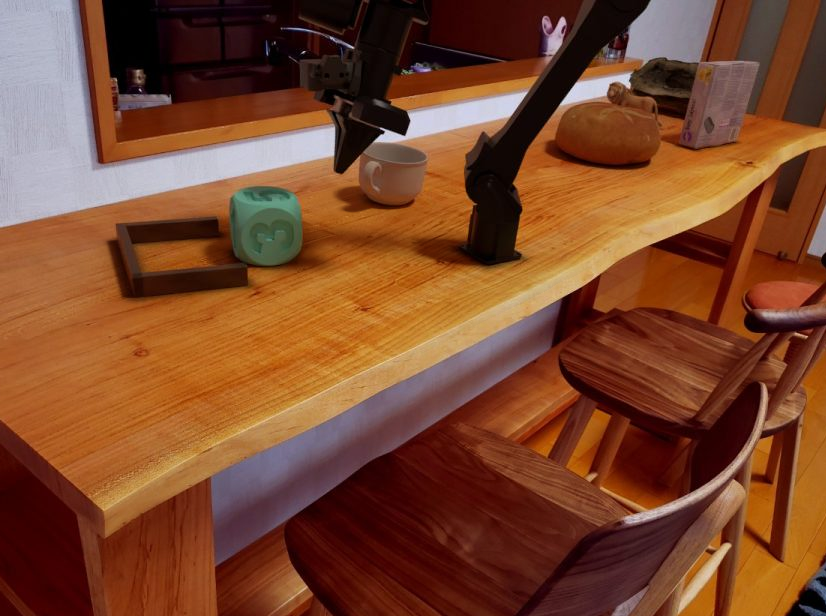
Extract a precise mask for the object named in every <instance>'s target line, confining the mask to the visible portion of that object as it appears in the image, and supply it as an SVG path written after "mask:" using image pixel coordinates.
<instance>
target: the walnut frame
mask: <svg viewBox="0 0 826 616" xmlns="http://www.w3.org/2000/svg"><path fill="white" fill-rule="evenodd" d="M114 225H115V233H116V241H117V244H118V248H119V252H120V254H121V258H122V261H123V265H124V268H125V271H126V275H127V278H128V281H129V285H130V288H131V291H132V295H133V297H134V298H143V297H153V296H159V295H160V296H162V295H169V294H171V295H172V294H178V293H179V294H180V293H186V292H187V293H189V292H198V291H208V290H218V289H226V288H227V289H228V288H235V287H244V286H249V277H248V275H249V269H248V268H249V267H248V265H247V263H245V262H240V263H228V264H217V265H208V266H207V265H206V266H196V267H186V268H177V269H175V268H174V269H166V270H157V271H155V270H154V271H144V272H142V269H141V267H140V263H139V261H138V257H137V255H136V252H135V249H134V246H133V244H141V243H152V242H154V243H155V242H165V241H176V240H177V241H178V240H190V239H203V238H214V237H219V236H220V225H219V218H218V217H217V216H216V215H214V216H201V217H199V216H198V217H188V218H174V219H173V218H172V219H171V218H170V219H162V220H161V219H157V220H146V221H132V222H131V221H129V222H118V223H115V224H114Z"/></svg>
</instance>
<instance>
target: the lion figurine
mask: <svg viewBox="0 0 826 616" xmlns="http://www.w3.org/2000/svg"><path fill="white" fill-rule="evenodd" d="M608 85H609V86H608V89H607V92H606V98H607V100H608V102H609V103H612V104H616V105H619V106H623V107H630V108H637V109H642V110H644V111H646V112H648V113H649V114H651V115H652V116H653V111H654V118H655V119H656V121H657V122H658V125H659V127H661V128H662V127H663V125H662V123H661V122H659V118H658V117H659V115H658V114H659V112H658V111H659V110H658V104H656V102H655V100H654V99H653V98H651V97H638V96H635V95H634V94H633V92H632V89H630V88H629V87H627V86H626V84H624V83H622V82H620V81H614V82H613V81H612V83H609V84H608Z"/></svg>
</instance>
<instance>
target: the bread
mask: <svg viewBox="0 0 826 616" xmlns="http://www.w3.org/2000/svg"><path fill="white" fill-rule="evenodd" d="M658 122H659V121H658ZM658 122H657V121H656V119H655V116H653V114H652V115H651V114H649V113H648V112H646V111H644V110H642V109H637V108H630V107H623V106H619V105H616V104H612V103H611V102H605V101H589V102H583V103H579V104H576V105H573V106H571V107H569V108H568V109H566V110H565V111H564V112H563V114H562V115H561V117H560V119H559V123H558V125H557V128H556V131H555V133H554V134H555V135H554V141H555V143H556V145H557V147H558V148H559V149H560V150H561V151H563V152H564V153H566V154H567V155H570V156H572V157H574V158H576V159H580V160H582V161H585V162H590V163H594V164H601V165H609V166H624V165H629V164H637V163H645V162H647V161H649V160H650V159H652V158H653V157H654V156H655V155H656V154H657V153H658V152H659V149H660V147H661V143H662V137H661V132H660V131H661V130H660V126H659V125H658Z"/></svg>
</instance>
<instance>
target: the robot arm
mask: <svg viewBox="0 0 826 616" xmlns="http://www.w3.org/2000/svg"><path fill="white" fill-rule="evenodd" d="M651 1H652V0H583V1H582V3H581V5H580V8H579V11H578V13H577V16H576V19H575V22H574V24H573V26H572V28H571V30H570V32H569V34H568V35H567V36H566V37H565V39H564V40H563V41H562V43H561V45H560V46H559V47H558V49H557V51H555V53H554V54H553V56H552V57H551V59H550V60H549V61H548V63H547V64H546V65H545V67H544V68H543V70H542V71H541V73H540V75H539V76H538V77H537V79H536V80H535V81H534V83H533V85H532V86H531V87H530V89H529V90H528V91H527V92H526V94H525V96H524V97H523V98H522V100H521V101H520V103H519V104H518V106H517V107H516V108H515V110H514V111H513V113H512V114H511V115H510V117H509V118H508V120H507V121H506V123H505V124H504V125H503V126H502V127H501V128H500V129H499V130H498V131H497V132H495V133H494V134H493V135H491V137H490V136H489V134H488V133H486V132H485V131H484V130H483V131H482V132H481V133H480V134H479V137H478V138H477V141H476V143H475V144H474V145H473V147H472V148H471V150H470V151H468V152H467V153H465V154H464V157H465V164H464V169H463V177H464V178H463V180H464V189H465V194H466V195H467V197H468V199H469V200H470V201H471V202H473V203H474V204H473V205H472V210H471V214H470V217H469V224H468V232H467V237H466V238H467V239H466V243H461V244H459V245H458V249H459V250H461V251H462V252H464V253H465V254H467V255H469V256H471V257H472V258H474V259H475V260H478V261H479V262H481V263H482V264H485V265H494V264H499V263H502V262H507V261H512V260H518V259H521V258H522V256H523V253H522V252H520V251H518V250H516V244H517V237H518V232H519V228H520V227H519V226H520V219H521V215H522V213H523V210H524V209H523V208H524V207H523V205H522V202H521V198H520V197H521V196H520V195H519V191H518V190H519V189H518V188H517V187H516V186H515V184H514V182H515V180H516V178H517V176H518V174H519V172H520V169H521V167H522V163H523V162H524V159H525V156H526V153H527V151H528V149H529V148H530V147H531V145H532V144H533V142H534V141H535V140H536V138H537V136H538V135H539V134H540V132H541V131H542V130H543V128H544V127H545V126H546V125H547V123H548V122H549V121H550V119H551V118H552V116H553V115H554V114H555V112H556V111H557V110H558V108H559V107H560V105H561V104H562V103H563V101H564V100H565V99H566V98H567V96H568V94H570V92H571V91H572V89H573V88H574V87H575V85H576V84H577V82H578V81H579V80H580V78H581V77H582V76H583V74H584V73H585V72H586V70H587V69H588V67H590V65H591V63H592V62H593V61H594V59H595V58H596V57H597V55H598V54H599V52H601V51H602V49H604V48H605V47H606V46H608V45H609V44H610V43H612V42H613V41H614V40H615V39H616V38H618V37H619V36H621V35H622V34H623V33H624V32H625V31H626V30H627V29H628V28H629V27H630V26H631V25H632V24H633V23H634V22H635V21H636V20H637V19H638V18H639V17H640V16H641V15H642V14H643V13H644V12H645V11H646V10H647V8H648V6H649V5H650V2H651ZM363 3H366V4H367V5H366V9H365V12H364V15H363V18H362V21H361V25H360V27H359V31H358V34H357V37H356V40H355V43H354V47H353V48H351V47H348V48H347V49H345V50H344V53H343V56H342V58H341V56H340V55H338V54H333V55H329V54H323V55H322V57H321V58H319V59H316V58H314V59H312V58H311V59H310V58H309V59H299V78H300V79H299V83H300V85H299V87H300V88H301V89H304V88H305V90H306V91H308V92H314V94H313V97H312V99H313V100H314V101H317V102H320V103H322V104H323V103H324V104H327V105H329V106H332V108H331V109H330V108H326V107H325V111H326V113H327V114H328V116H329V117H330V119H331V121H332V123H333V125H334V152H333V172H334V173H335V174H339V175H343V174H345V172H346V171H348V169H349V168H350V167H351V166H353V164H354V163H355V162H356V161H357V159H359V158H360V155H361V154H362V153H363V152H364V151H365V150H366V149H367V148H368V147H369V146H370V145H371V144H372V143H373V142H376V140H377V139H378V138H379V137H380V136H383V135H384V134H385V133H386V131H388V132H391V133H394V134H398V135H399V136H403V137H406V136H407V134H408V130H409V127H410V124H411V118H410V116H409V113H408V110H406V109H403V108H401V107H398V106H395V105H393V104H392V100H389V99H388V95H389V92H390V89H391V86H392V84H393V81H394V78H395V76H397V77H401V76H402V73H403V70H404V67H403V66H400V65H399V62H400V60H401V57H402V54H403V51H404V48H405V45H406V43H407V39H408V36H409V33H410V30H411V28H412V24H413V22H416V23H418V24H420V25H423V26H426V25H428V23H429V21H430V16H429V15H428V12H427V11H426V8H425V7H426V6H425V1H424V0H416V1H414V2H411V1H408V0H388V1H386V0H300V4H299V10H298V19H299V20H302V21H304V22H307V23H310V24H312V25H314V26H317V27H320V28H322V29H325V30H327V31H331V32H333V33H335V34H338V35H341V36H343V35H344V33H345V32H346V31H348V29H350V30H352V31H354V30H355V29H356V27H357V23H358V20H359V17H360V14H361V11H362V7H363Z"/></svg>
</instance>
